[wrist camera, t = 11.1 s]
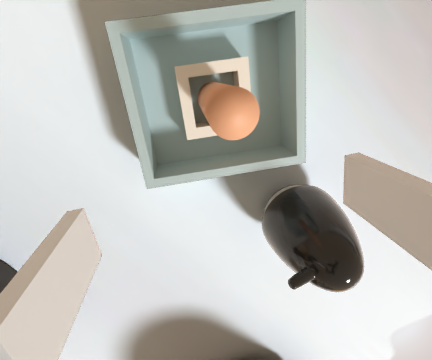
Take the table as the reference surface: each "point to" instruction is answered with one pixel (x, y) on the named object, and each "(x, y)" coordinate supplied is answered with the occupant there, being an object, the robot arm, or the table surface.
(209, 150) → the box
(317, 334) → the table surface
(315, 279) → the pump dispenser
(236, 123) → the peg
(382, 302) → the table surface
